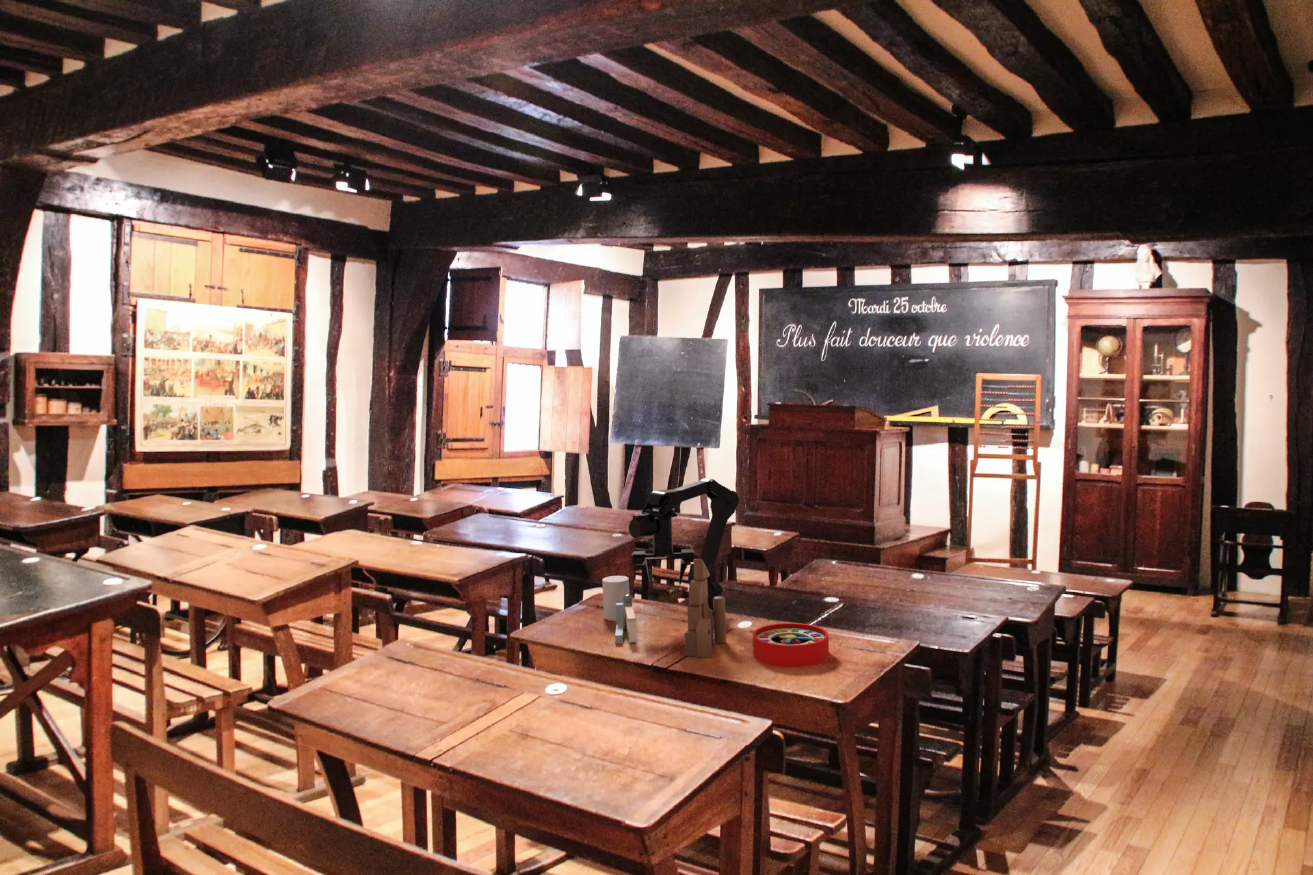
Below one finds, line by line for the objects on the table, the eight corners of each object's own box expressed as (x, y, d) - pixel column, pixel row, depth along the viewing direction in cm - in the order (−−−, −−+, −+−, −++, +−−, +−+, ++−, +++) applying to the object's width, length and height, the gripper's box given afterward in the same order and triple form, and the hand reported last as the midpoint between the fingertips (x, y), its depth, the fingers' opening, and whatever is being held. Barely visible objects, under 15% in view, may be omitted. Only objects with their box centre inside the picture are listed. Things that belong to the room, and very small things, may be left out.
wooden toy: (708, 658, 260) (705, 565, 257) (685, 655, 262) (681, 564, 260) (727, 641, 274) (724, 553, 271) (705, 639, 276) (702, 552, 274)
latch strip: (624, 629, 289) (623, 602, 288) (622, 643, 275) (621, 615, 274) (617, 629, 289) (616, 603, 288) (615, 643, 275) (614, 615, 274)
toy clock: (761, 621, 272) (833, 625, 266) (761, 641, 273) (833, 646, 267) (745, 643, 253) (822, 647, 247) (745, 664, 254) (823, 670, 248)
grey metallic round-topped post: (635, 625, 292) (633, 592, 291) (634, 629, 288) (633, 596, 287) (623, 626, 292) (621, 593, 291) (622, 629, 288) (621, 596, 287)
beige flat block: (625, 629, 287) (624, 606, 287) (633, 628, 288) (632, 605, 287) (628, 642, 275) (627, 618, 274) (636, 641, 275) (635, 618, 274)
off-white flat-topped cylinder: (619, 611, 308) (617, 574, 307) (635, 616, 301) (634, 578, 300) (598, 617, 303) (597, 579, 301) (614, 622, 296) (613, 583, 295)
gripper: (693, 527, 297) (694, 577, 299) (631, 529, 297) (633, 579, 299) (694, 534, 286) (696, 586, 288) (630, 536, 286) (632, 588, 288)
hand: (664, 585), depth 291 cm, fingers open, 9 cm apart
